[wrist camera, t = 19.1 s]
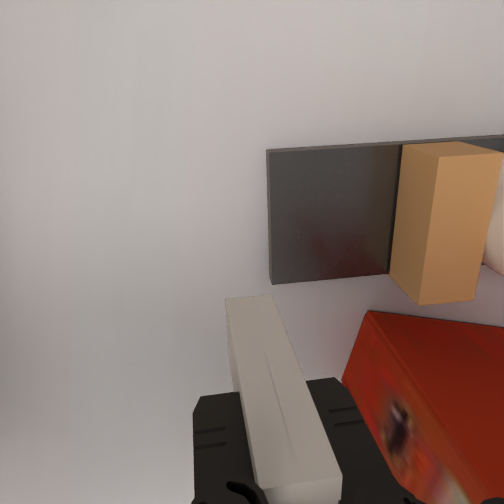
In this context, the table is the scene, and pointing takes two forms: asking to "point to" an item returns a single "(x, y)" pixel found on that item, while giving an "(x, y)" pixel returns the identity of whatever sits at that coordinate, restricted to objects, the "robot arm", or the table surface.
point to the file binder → (433, 403)
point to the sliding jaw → (442, 219)
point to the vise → (337, 207)
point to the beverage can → (496, 230)
